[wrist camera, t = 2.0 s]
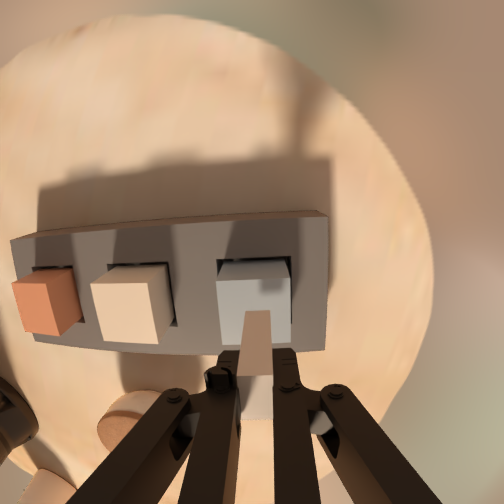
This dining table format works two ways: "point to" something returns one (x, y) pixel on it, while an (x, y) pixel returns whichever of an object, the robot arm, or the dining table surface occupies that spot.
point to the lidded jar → (124, 416)
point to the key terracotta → (48, 301)
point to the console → (189, 272)
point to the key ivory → (134, 303)
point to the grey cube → (254, 297)
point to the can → (47, 489)
